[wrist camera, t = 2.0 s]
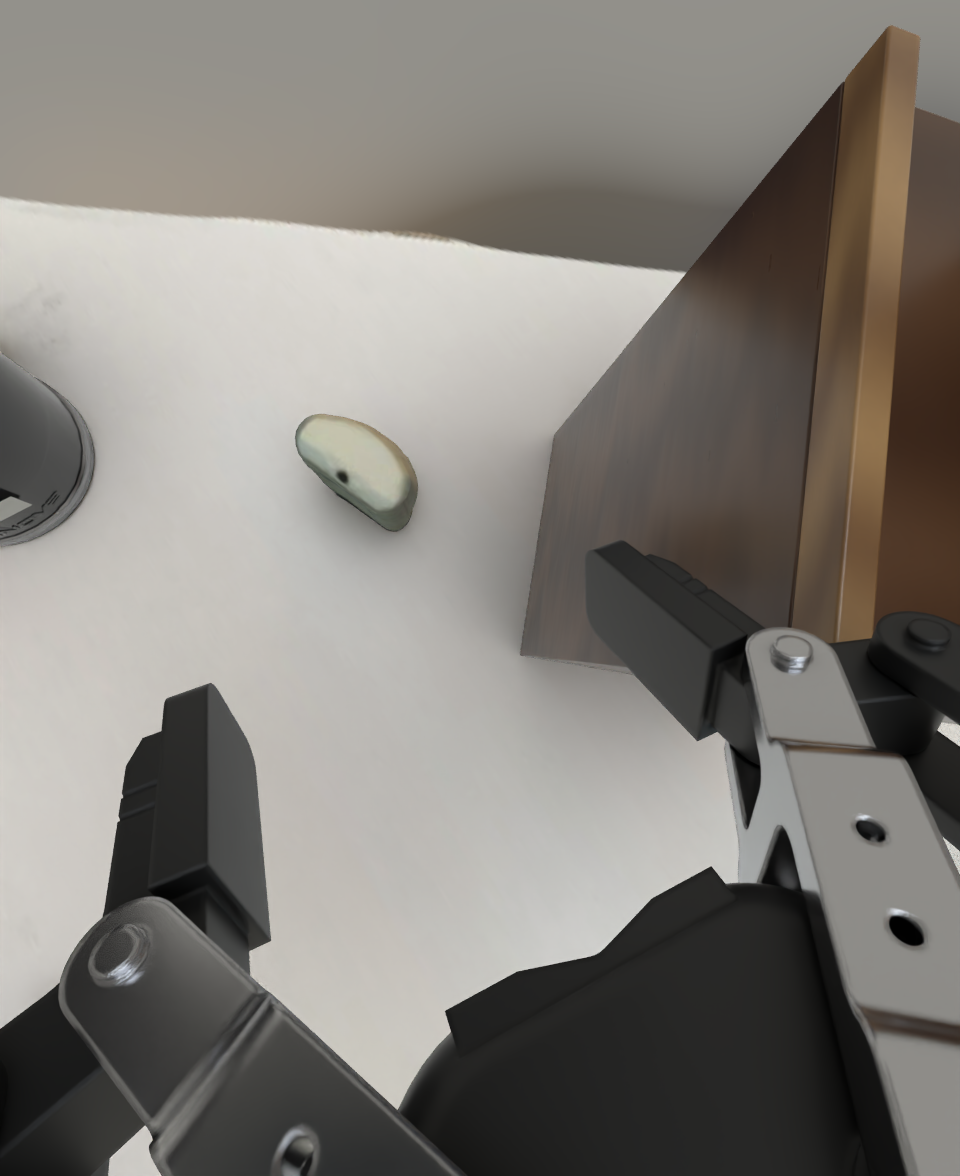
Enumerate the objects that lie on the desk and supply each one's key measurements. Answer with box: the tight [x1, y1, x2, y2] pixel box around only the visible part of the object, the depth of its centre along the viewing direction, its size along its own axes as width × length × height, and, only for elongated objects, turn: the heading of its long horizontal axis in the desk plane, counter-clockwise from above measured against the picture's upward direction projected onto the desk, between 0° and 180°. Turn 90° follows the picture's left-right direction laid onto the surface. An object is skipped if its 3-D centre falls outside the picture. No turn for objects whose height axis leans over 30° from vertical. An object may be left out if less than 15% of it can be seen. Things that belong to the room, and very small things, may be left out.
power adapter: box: [295, 414, 418, 531], centre depth 29 cm, size 6×5×8 cm
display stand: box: [520, 25, 960, 725], centre depth 19 cm, size 14×14×33 cm
